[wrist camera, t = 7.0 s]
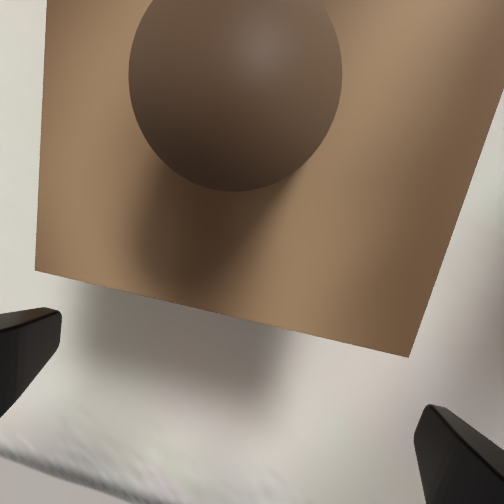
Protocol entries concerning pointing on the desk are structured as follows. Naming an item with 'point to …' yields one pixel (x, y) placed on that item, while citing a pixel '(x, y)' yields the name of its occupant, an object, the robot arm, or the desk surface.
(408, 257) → the lid
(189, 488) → the desk surface
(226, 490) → the desk surface
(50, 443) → the desk surface
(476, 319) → the desk surface
